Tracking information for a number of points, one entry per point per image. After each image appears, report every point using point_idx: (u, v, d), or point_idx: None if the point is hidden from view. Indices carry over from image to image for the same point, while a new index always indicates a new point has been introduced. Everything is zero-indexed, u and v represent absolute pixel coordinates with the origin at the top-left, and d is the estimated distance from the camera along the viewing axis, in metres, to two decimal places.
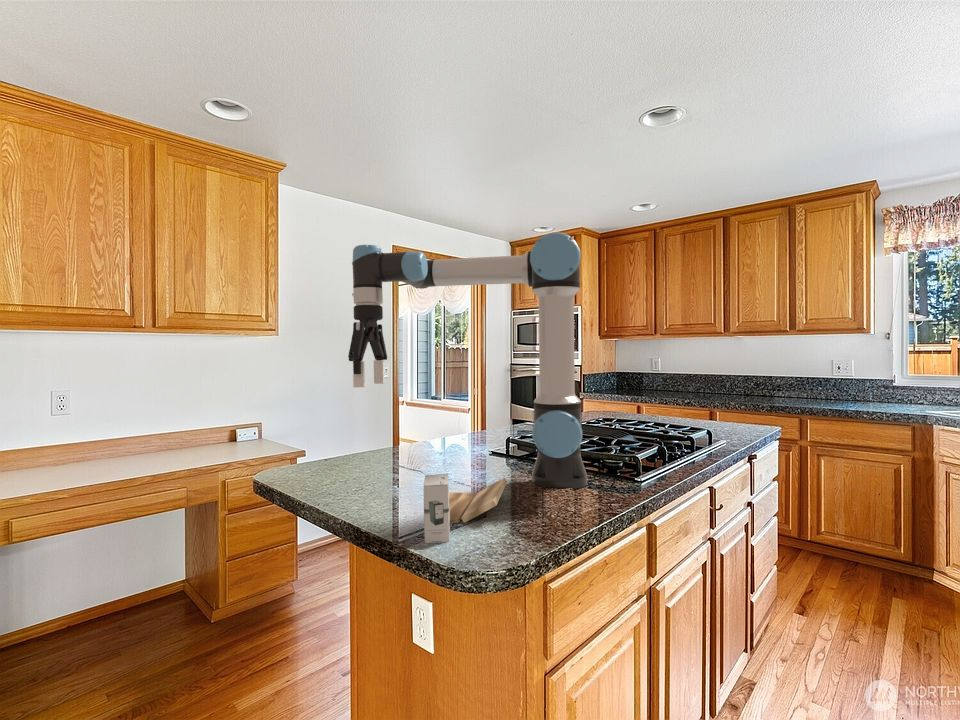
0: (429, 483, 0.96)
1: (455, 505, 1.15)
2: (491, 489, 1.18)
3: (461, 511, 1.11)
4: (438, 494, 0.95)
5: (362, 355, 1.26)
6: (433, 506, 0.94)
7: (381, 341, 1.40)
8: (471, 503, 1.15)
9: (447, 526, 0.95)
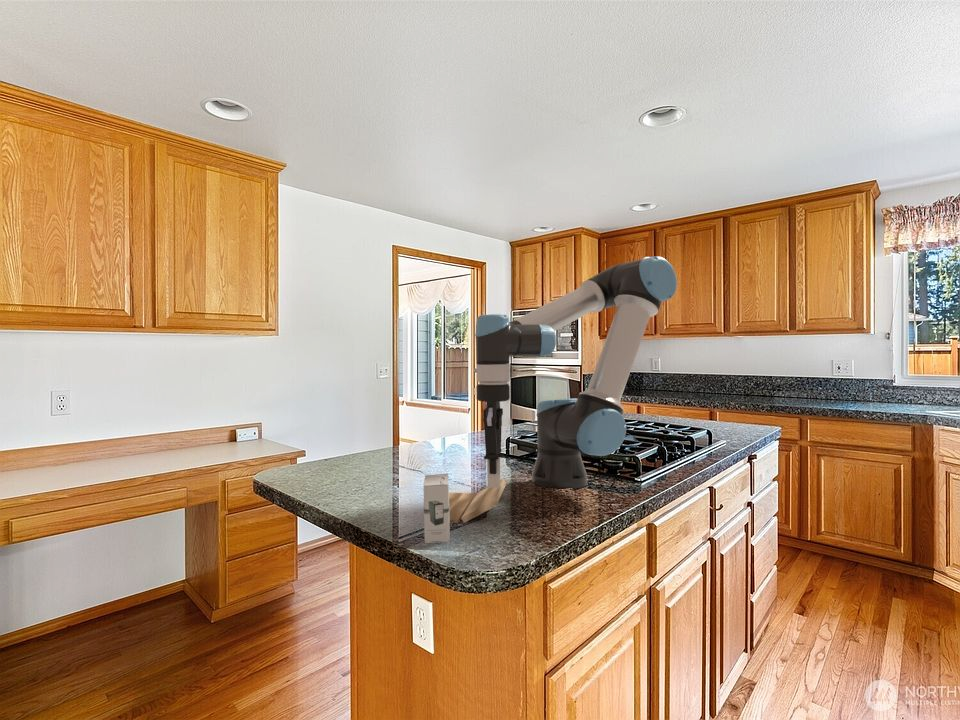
0: (429, 483, 0.96)
1: (455, 505, 1.15)
2: (491, 489, 1.18)
3: (461, 511, 1.11)
4: (438, 494, 0.95)
5: (498, 452, 1.12)
6: (433, 506, 0.94)
7: None
8: (471, 503, 1.15)
9: (447, 526, 0.95)
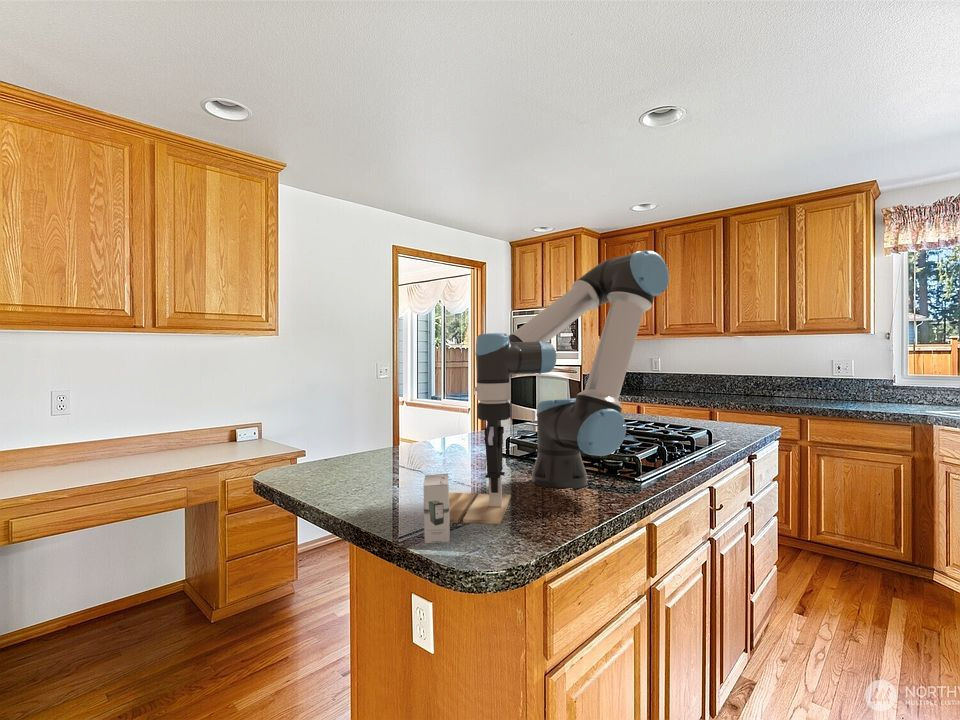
0: (429, 483, 0.96)
1: (455, 505, 1.15)
2: None
3: (461, 511, 1.11)
4: (438, 494, 0.95)
5: (499, 470, 1.12)
6: (433, 506, 0.94)
7: (500, 447, 1.17)
8: (473, 505, 1.15)
9: (447, 526, 0.95)
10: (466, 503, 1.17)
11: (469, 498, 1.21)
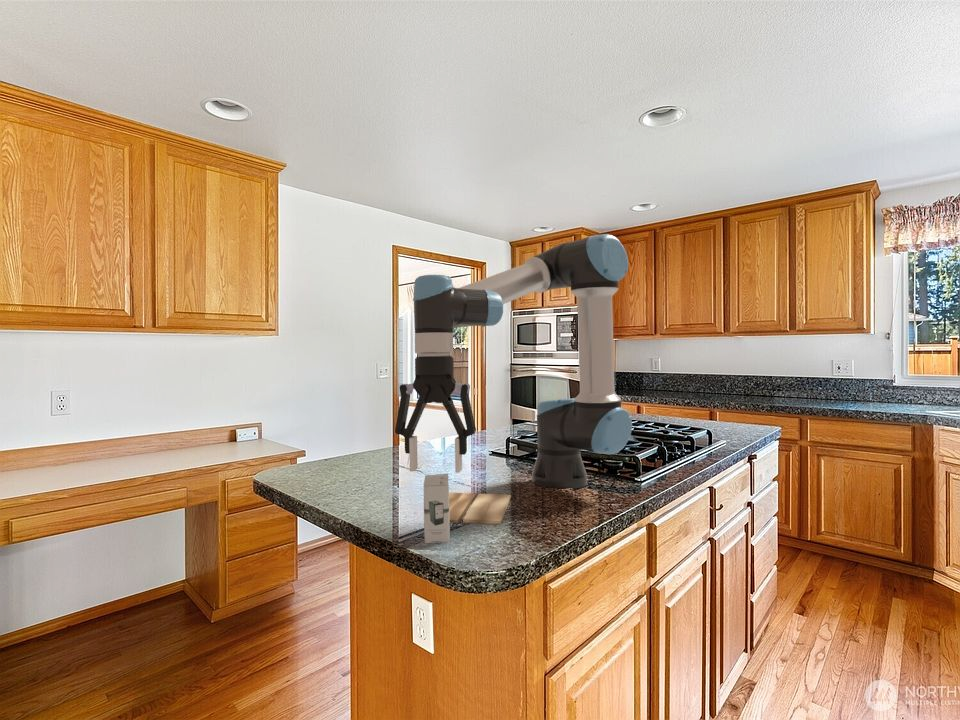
0: (429, 483, 0.96)
1: (455, 505, 1.15)
2: (496, 501, 1.18)
3: (461, 511, 1.11)
4: (438, 494, 0.95)
5: (408, 429, 0.98)
6: (433, 506, 0.94)
7: None
8: (473, 505, 1.15)
9: (447, 526, 0.95)
10: (466, 503, 1.17)
11: (469, 498, 1.21)
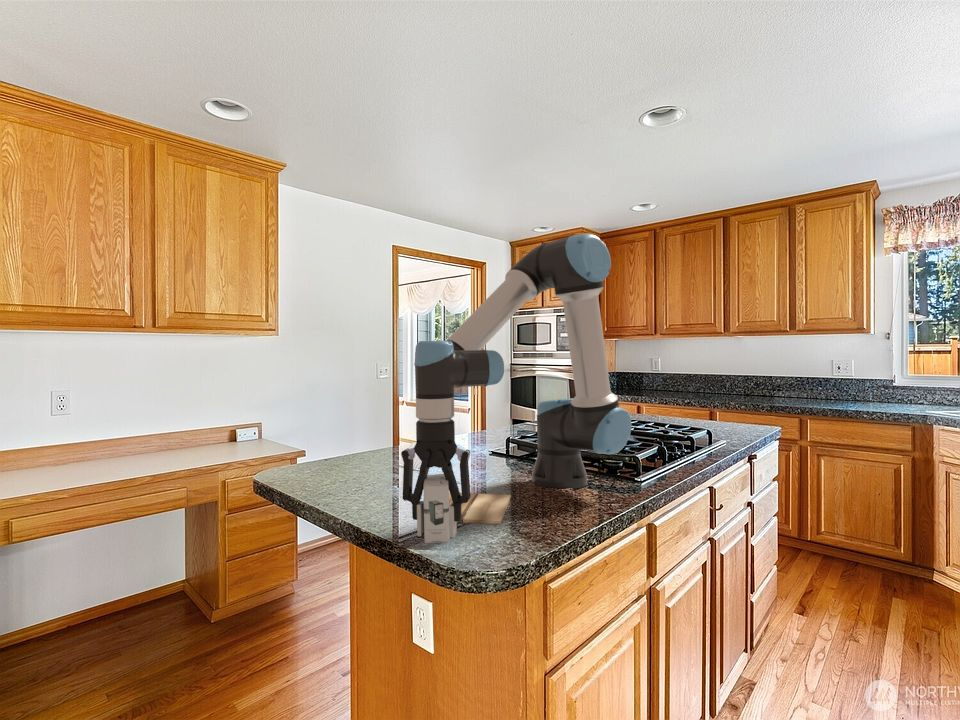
0: (429, 483, 0.96)
1: None
2: (496, 501, 1.18)
3: (461, 511, 1.11)
4: (438, 494, 0.95)
5: (415, 496, 0.98)
6: (433, 505, 0.94)
7: None
8: (473, 505, 1.15)
9: (447, 526, 0.95)
10: (466, 503, 1.17)
11: None
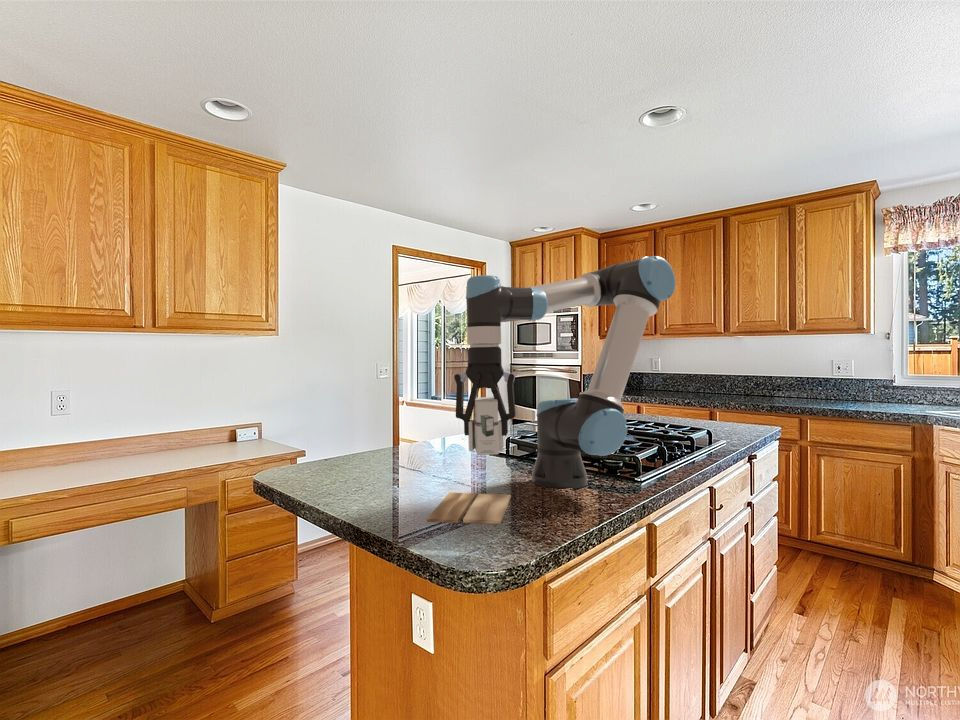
0: (481, 400, 1.09)
1: (455, 505, 1.15)
2: (496, 501, 1.18)
3: (461, 511, 1.11)
4: (489, 409, 1.08)
5: (467, 414, 1.11)
6: (485, 419, 1.08)
7: (507, 394, 1.10)
8: (473, 505, 1.15)
9: (497, 437, 1.08)
10: (466, 503, 1.17)
11: (469, 498, 1.21)
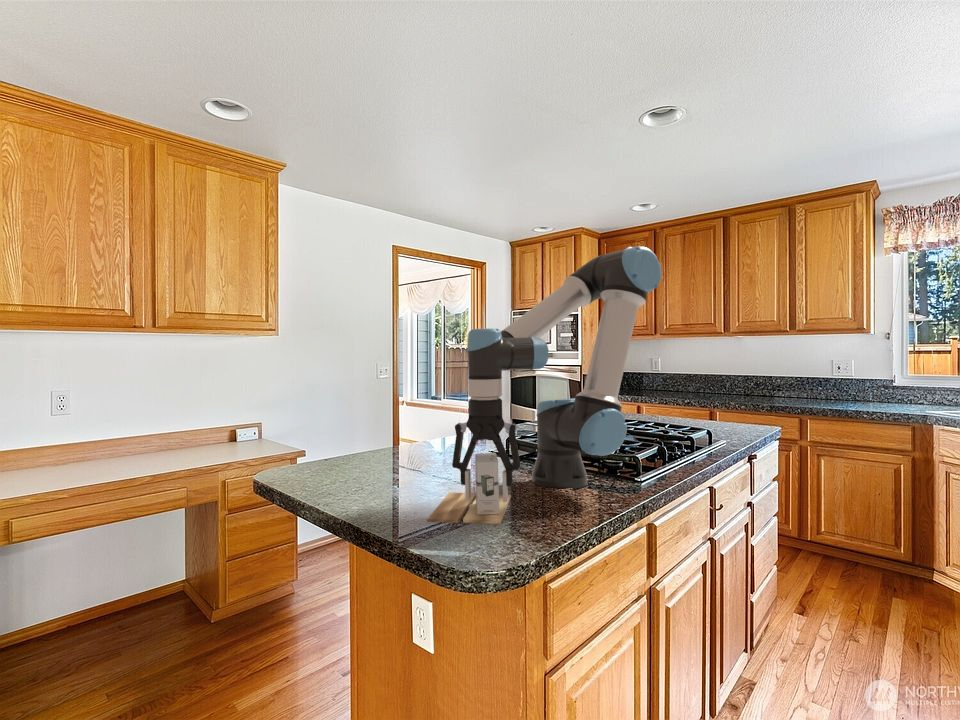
0: (481, 459, 1.09)
1: (455, 505, 1.15)
2: None
3: (461, 511, 1.11)
4: (489, 469, 1.08)
5: (464, 464, 1.12)
6: (485, 479, 1.08)
7: None
8: (473, 505, 1.15)
9: (497, 497, 1.08)
10: (466, 503, 1.17)
11: None
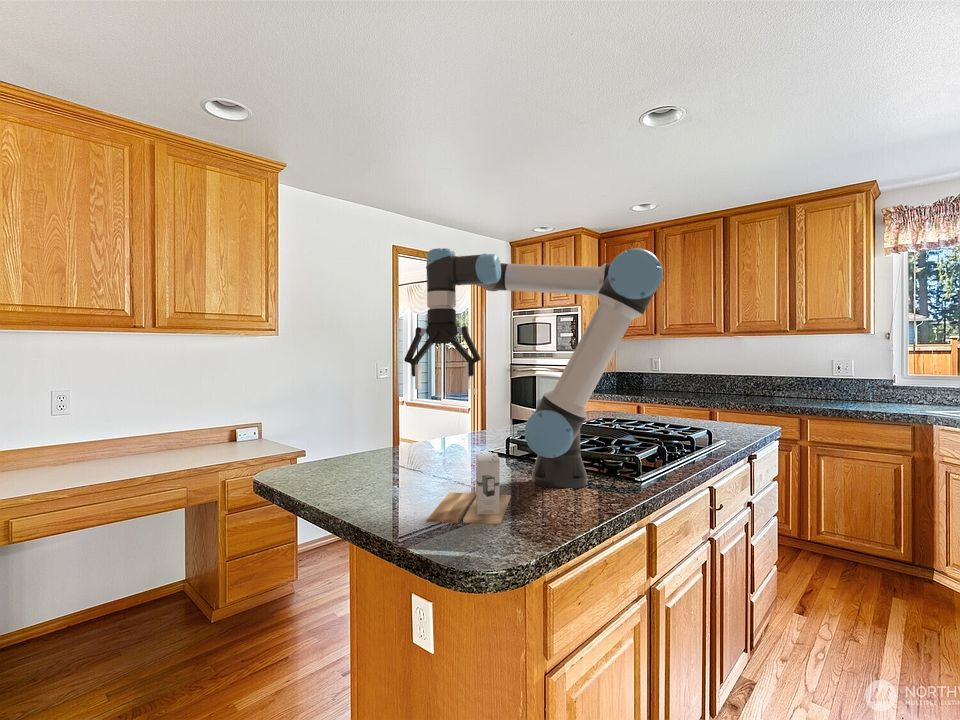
0: (483, 459, 1.09)
1: (455, 505, 1.15)
2: None
3: (461, 511, 1.11)
4: (490, 469, 1.08)
5: (415, 359, 1.33)
6: (486, 479, 1.08)
7: (467, 344, 1.31)
8: (473, 505, 1.15)
9: (497, 498, 1.08)
10: (466, 503, 1.17)
11: (469, 498, 1.21)
